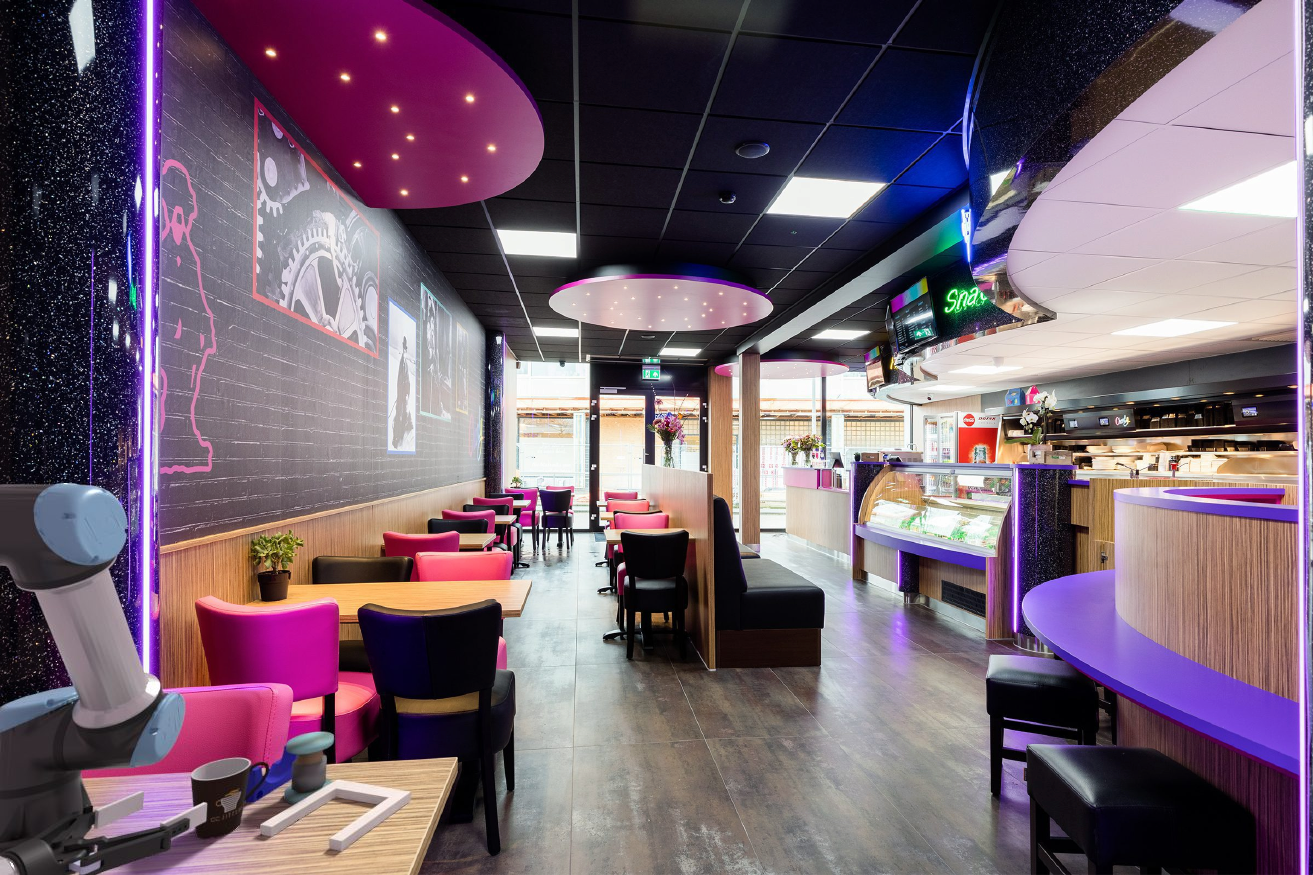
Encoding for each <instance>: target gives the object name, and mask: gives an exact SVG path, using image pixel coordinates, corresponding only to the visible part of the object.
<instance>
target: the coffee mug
mask: <svg viewBox="0 0 1313 875" xmlns="http://www.w3.org/2000/svg"><path fill="white" fill-rule="evenodd" d="M251 764H252V761H251V760H250V759H248V758H245V757H230V758H224V759H219V760H215V761H210V762H208V763H206V764H203V765H200V766H199V767H197V768H195V769H194V770H193V771H192V772H191V773H190V783H191V794H192V804H193V805H192V806H193V807H195V806H197V805H199V804H201V803H203V802H204V803H207V815H206V822H204V823H202V824H200V825H198V826H196V827H194V829H195V836H196V838H199V839H201V840H203V839H204V840H211V839H215V838H220V837H224V836H226V835H228V834H230V833H232V832H234V831H235V829H236V828H237V827H238V826H239V827H240V826H241V824H242V818H243V811H244V805H245V803H246V802H245V801H246V800H247V799H248V798H249V797H250V796H251V795H252V794H253V793H254V792H255V791H256V790H257V789H258V788H259V787H260V786H261V784H262V783H263V782H264V780H265V779H266V777H267V775H268V773H269V769H270V766H269V764H268V763H267V762H265V761H259V762H258V761H257V762H255V763H253V764H252V765H251ZM250 766H251V767H250ZM260 766H262V767H264V770H265V771H264V774H263V775H264V776H263V778H262V779H261V781H260V782H259V783H258V784H257V785H256V786H255V787H254V788H253V789H252V790H251V791H250V792H249V793H248V794H247V795H246V789H247V783H248V777H249V773H250V772H251V771H252V770H253V769H254V768H255V767H260ZM245 795H246V796H245ZM193 807H192V808H193ZM239 827H238V828H239ZM238 828H237V829H238ZM237 829H236V830H237ZM233 830H234V831H233Z"/></svg>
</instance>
